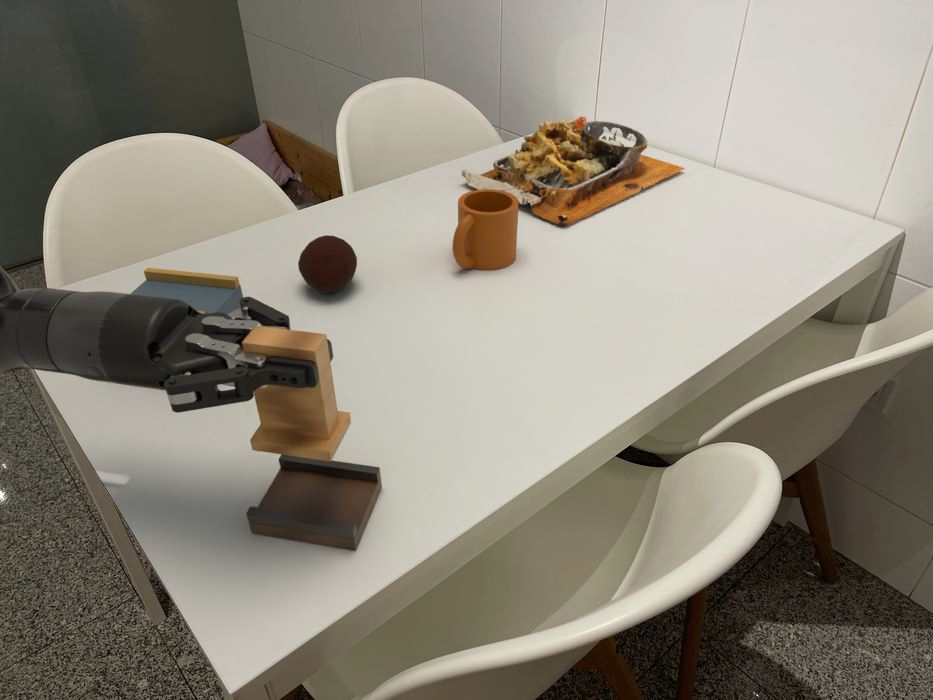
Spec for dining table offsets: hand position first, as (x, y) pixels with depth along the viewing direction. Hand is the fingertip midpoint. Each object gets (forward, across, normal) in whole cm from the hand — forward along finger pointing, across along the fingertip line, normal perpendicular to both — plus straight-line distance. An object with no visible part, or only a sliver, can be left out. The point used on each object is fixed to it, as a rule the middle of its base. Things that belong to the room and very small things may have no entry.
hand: (323, 362), depth 55 cm
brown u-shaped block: (-3, 0, +18) cm, 18 cm away
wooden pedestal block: (-3, 0, +8) cm, 9 cm away
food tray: (+14, +85, +17) cm, 88 cm away
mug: (+3, +51, +17) cm, 54 cm away
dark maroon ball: (-16, +39, +18) cm, 46 cm away
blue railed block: (-28, +21, +18) cm, 39 cm away
